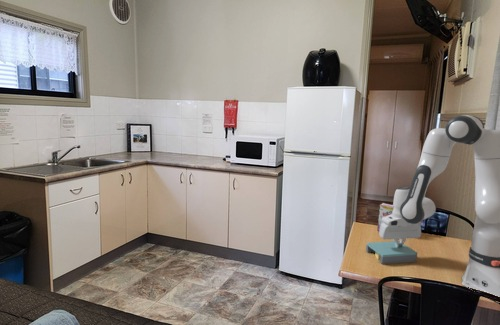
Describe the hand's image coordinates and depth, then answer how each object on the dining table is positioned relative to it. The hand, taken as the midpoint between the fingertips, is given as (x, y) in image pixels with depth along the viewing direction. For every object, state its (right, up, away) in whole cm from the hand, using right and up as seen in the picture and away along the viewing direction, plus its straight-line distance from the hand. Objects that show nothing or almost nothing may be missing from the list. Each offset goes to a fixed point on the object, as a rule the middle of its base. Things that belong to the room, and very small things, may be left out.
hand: (398, 246), depth 158 cm
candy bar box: (+8, 0, +31) cm, 32 cm away
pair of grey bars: (-4, -5, -1) cm, 6 cm away
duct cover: (-4, -1, -1) cm, 5 cm away
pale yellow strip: (-4, -5, -3) cm, 7 cm away
